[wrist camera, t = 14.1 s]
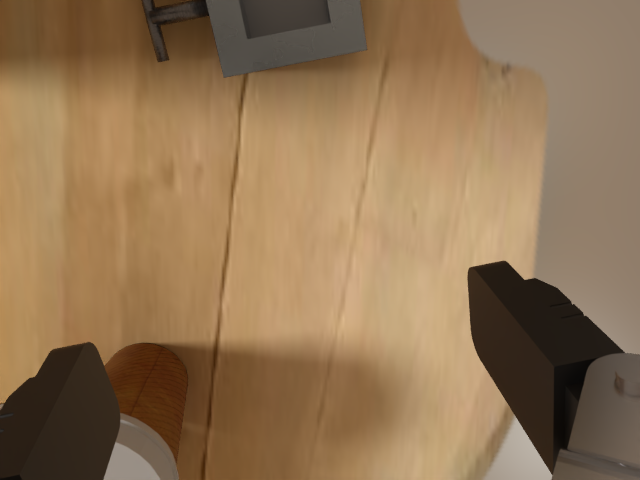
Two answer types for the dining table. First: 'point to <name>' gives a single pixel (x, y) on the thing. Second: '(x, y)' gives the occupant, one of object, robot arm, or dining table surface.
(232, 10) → the vise
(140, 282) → the dining table surface
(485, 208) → the dining table surface
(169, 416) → the disposable coffee cup
